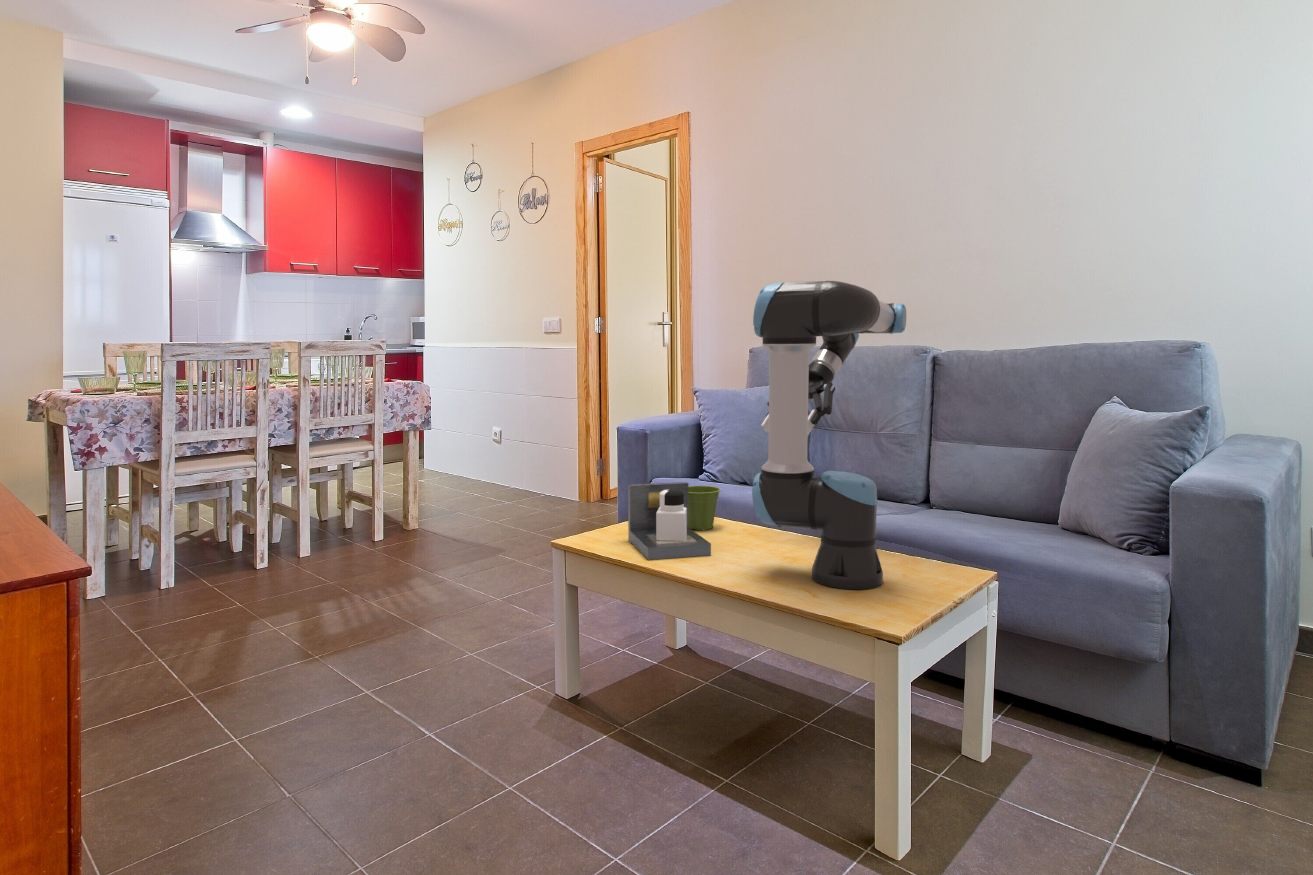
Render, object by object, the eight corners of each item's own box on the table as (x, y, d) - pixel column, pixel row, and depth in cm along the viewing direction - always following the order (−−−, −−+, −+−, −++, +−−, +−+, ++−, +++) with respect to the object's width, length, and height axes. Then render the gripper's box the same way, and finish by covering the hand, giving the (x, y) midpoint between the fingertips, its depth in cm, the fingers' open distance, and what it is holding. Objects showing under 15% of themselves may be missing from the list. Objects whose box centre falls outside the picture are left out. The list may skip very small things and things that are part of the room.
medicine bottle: (686, 534, 196) (686, 488, 195) (684, 541, 189) (685, 493, 188) (658, 533, 197) (658, 487, 196) (656, 540, 190) (656, 492, 189)
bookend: (710, 555, 189) (711, 495, 187) (648, 560, 184) (647, 498, 183) (685, 536, 208) (686, 481, 206) (628, 540, 204) (628, 484, 202)
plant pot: (701, 521, 227) (701, 483, 225) (729, 528, 217) (729, 489, 216) (670, 526, 219) (670, 488, 218) (697, 534, 210) (697, 494, 209)
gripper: (866, 381, 198) (828, 444, 191) (793, 379, 218) (755, 436, 210) (854, 361, 195) (815, 424, 187) (780, 360, 214) (742, 418, 206)
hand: (783, 430), depth 199 cm, fingers open, 13 cm apart
